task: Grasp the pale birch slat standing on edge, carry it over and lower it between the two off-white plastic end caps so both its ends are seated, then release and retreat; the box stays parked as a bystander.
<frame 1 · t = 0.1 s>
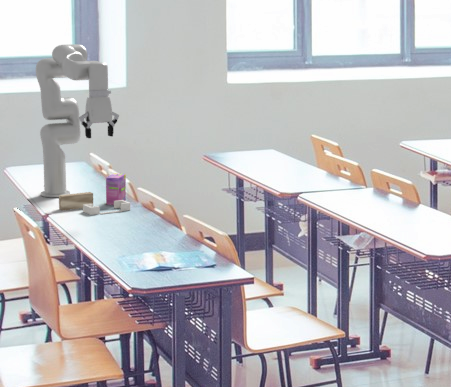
hand: (99, 137, 405), 31 cm above the table, fingers open, 9 cm apart
endcaps: (106, 210, 415), on the table
box: (116, 203, 432), on the table
slat: (76, 208, 421), on the table
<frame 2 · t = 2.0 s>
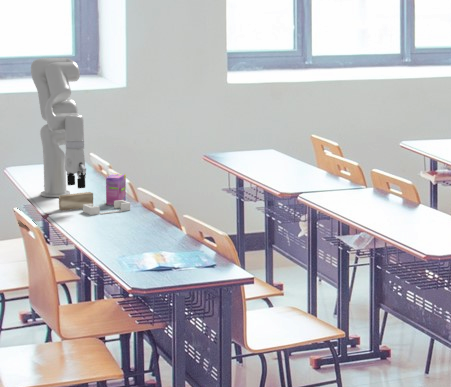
hand: (76, 186, 418), 9 cm above the table, fingers open, 9 cm apart
nothing on the table moved.
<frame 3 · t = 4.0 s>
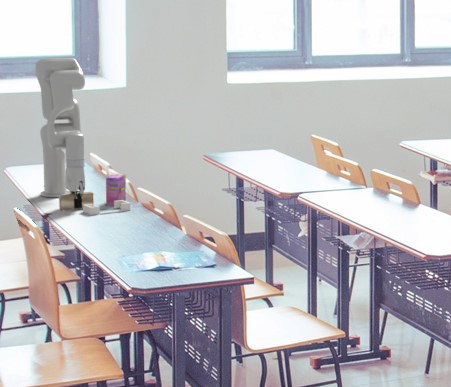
hand: (76, 206, 421), 1 cm above the table, fingers closed on slat, 2 cm apart
slat: (76, 208, 421), on the table, touching gripper
everything else where it was.
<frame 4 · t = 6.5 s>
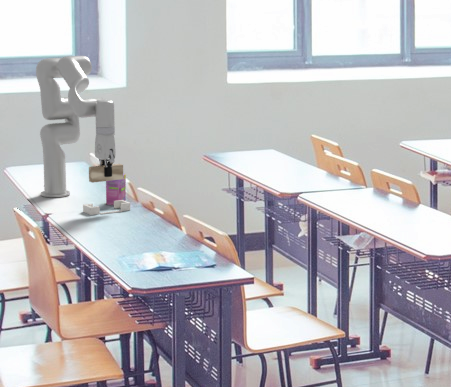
hand: (106, 175, 413), 15 cm above the table, fingers closed on slat, 2 cm apart
slat: (106, 180, 413), point 13 cm above the table, touching gripper
everything else where it was.
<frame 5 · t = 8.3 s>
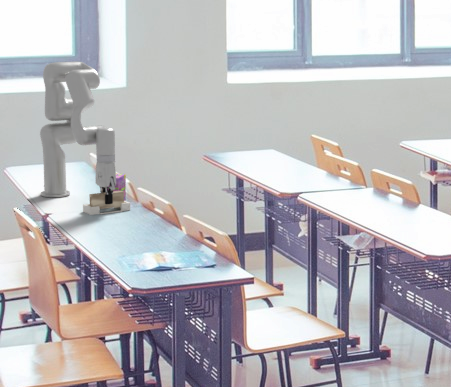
hand: (106, 202, 415), 3 cm above the table, fingers closed on slat, 2 cm apart
slat: (107, 207, 415), point 1 cm above the table, touching gripper
everything else where it was.
when the fingers open (2 cm above the table, at t = 9.4 s): slat stays where it is, on the table.
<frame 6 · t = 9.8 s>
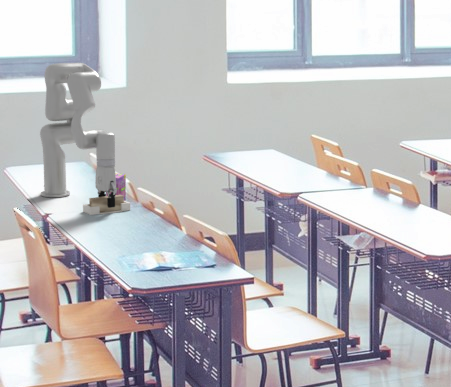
hand: (106, 205, 415), 2 cm above the table, fingers open, 7 cm apart
slat: (106, 211, 415), on the table
everything else where it was.
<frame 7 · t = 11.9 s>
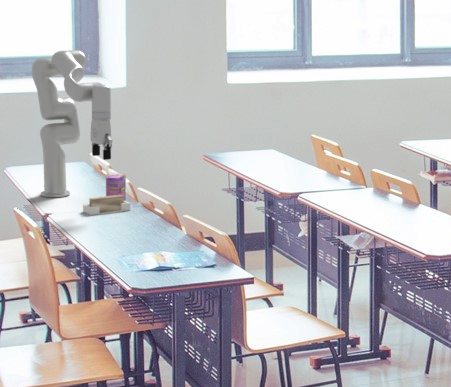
hand: (101, 157, 413), 22 cm above the table, fingers open, 9 cm apart
nothing on the table moved.
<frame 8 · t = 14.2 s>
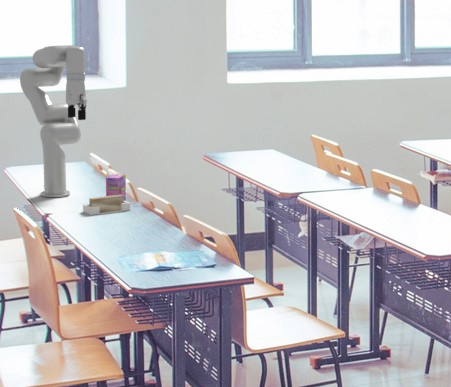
hand: (76, 118, 421), 36 cm above the table, fingers open, 9 cm apart
nothing on the table moved.
at the end: slat 0.1 cm off-centre on the endcaps, point 0.0 cm above the endcaps's base; the gripper is holding nothing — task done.
